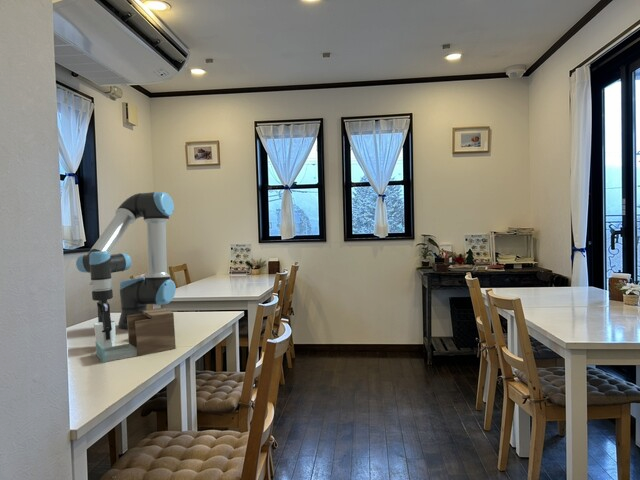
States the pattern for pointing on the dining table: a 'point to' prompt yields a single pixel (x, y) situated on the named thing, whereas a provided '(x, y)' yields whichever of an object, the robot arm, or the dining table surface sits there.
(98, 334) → the white cup
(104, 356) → the teal drawer
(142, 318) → the wooden drawer box
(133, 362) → the dining table surface
